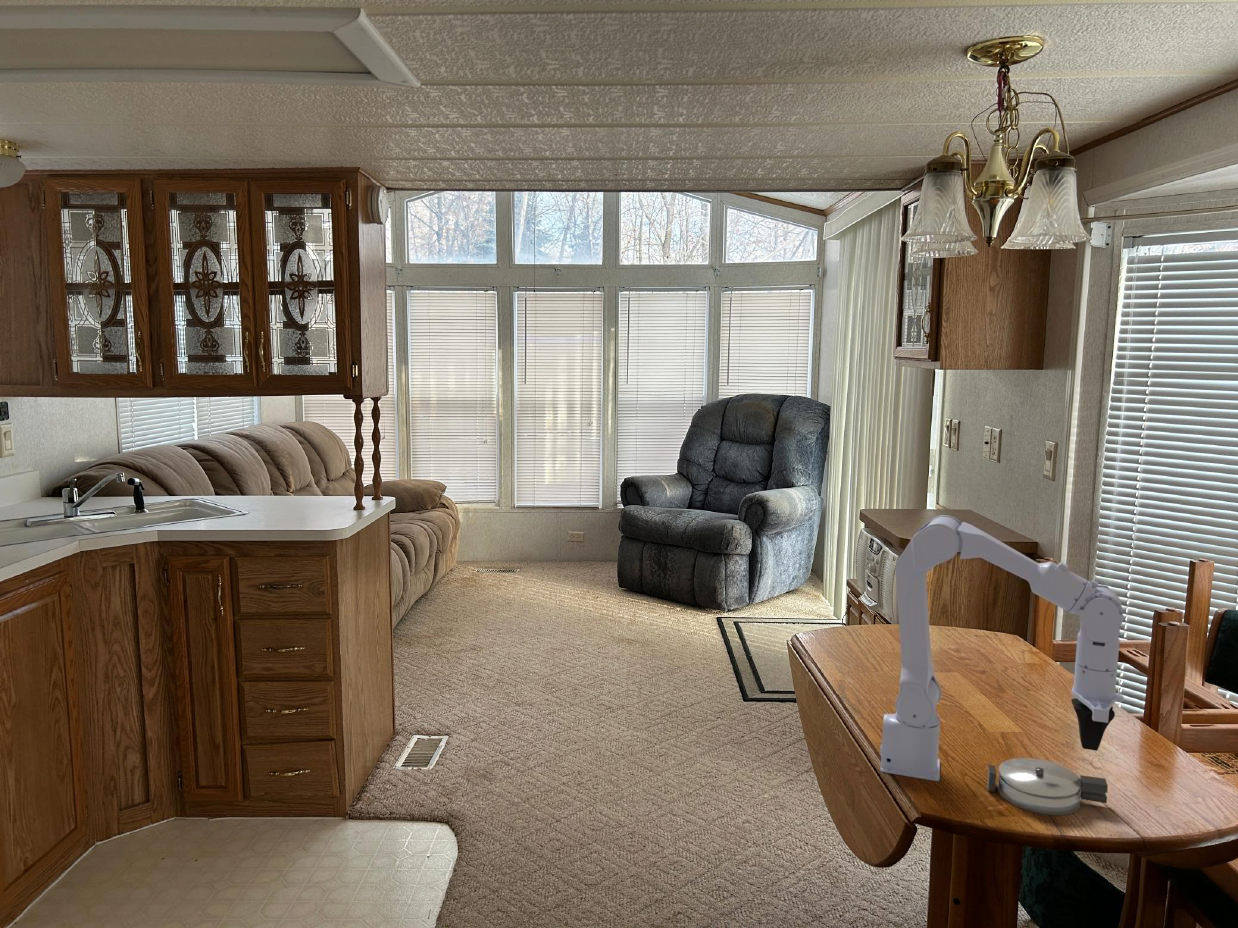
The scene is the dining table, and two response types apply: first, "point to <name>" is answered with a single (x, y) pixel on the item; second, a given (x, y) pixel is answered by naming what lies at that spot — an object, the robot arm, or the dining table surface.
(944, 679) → the dining table surface
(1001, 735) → the dining table surface
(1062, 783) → the lid
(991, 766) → the pot
